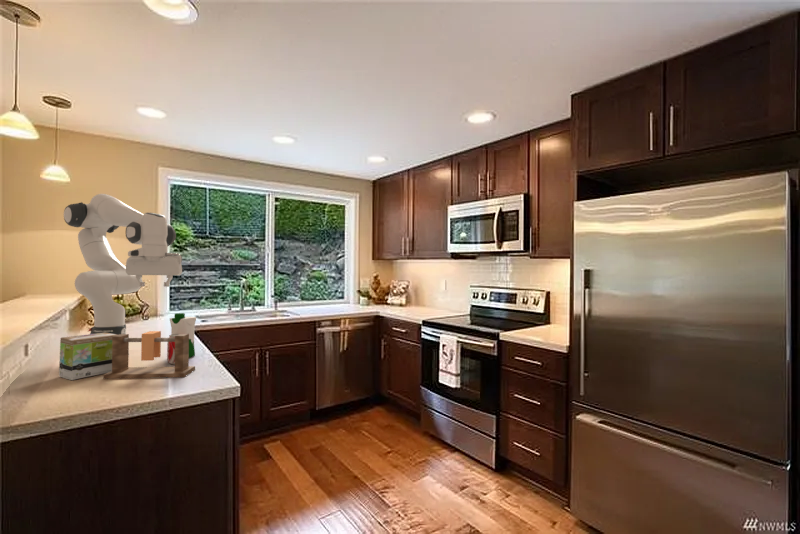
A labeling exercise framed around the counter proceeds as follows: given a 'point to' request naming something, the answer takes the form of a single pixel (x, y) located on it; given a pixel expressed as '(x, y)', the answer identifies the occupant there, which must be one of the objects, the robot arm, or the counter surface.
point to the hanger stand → (123, 371)
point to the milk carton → (184, 328)
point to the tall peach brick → (150, 345)
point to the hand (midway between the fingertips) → (154, 286)
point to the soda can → (171, 350)
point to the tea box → (85, 355)
